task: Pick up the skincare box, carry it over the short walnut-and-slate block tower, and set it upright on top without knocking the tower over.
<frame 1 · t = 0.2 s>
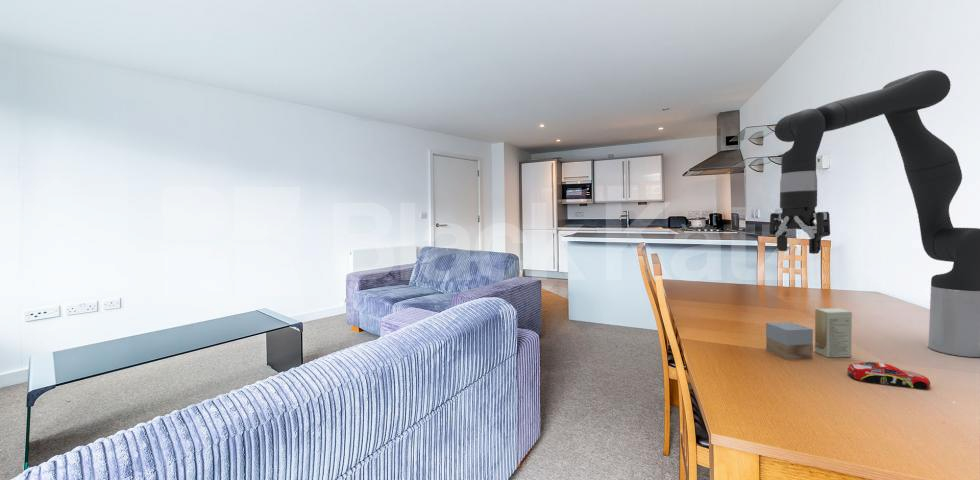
hand: (797, 252, 99), 28 cm above the table, fingers open, 8 cm apart
bottom block: (788, 355, 102), on the table, touching top block
skincare box: (832, 355, 101), on the table
race car: (887, 383, 84), on the table
top block: (788, 340, 102), point 4 cm above the table, touching bottom block
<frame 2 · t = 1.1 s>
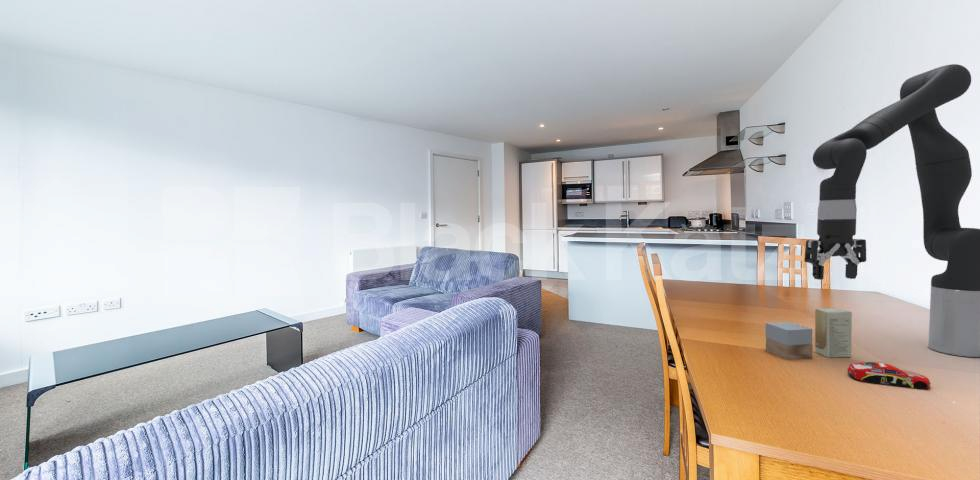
hand: (834, 278, 100), 21 cm above the table, fingers open, 8 cm apart
nothing on the table moved.
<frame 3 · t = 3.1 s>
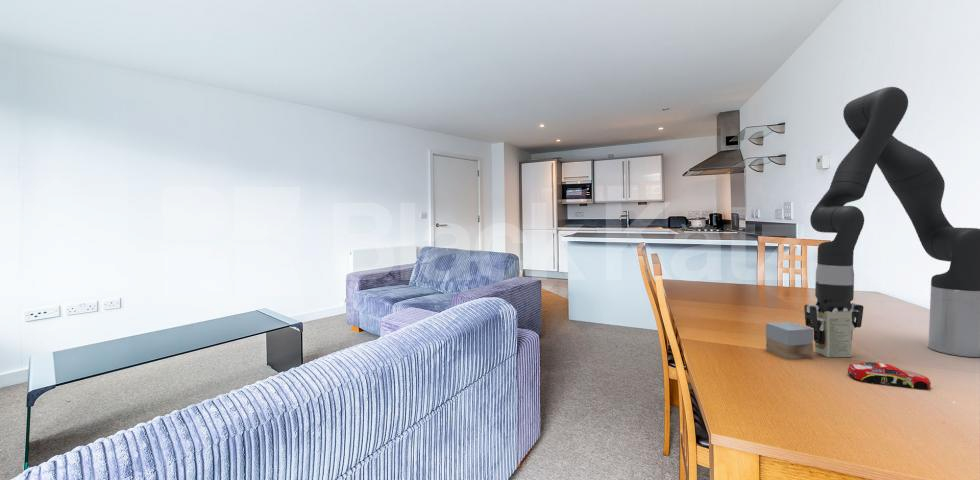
hand: (832, 343, 101), 3 cm above the table, fingers closed on skincare box, 6 cm apart
skincare box: (832, 355, 101), on the table, touching gripper
everything else where it was.
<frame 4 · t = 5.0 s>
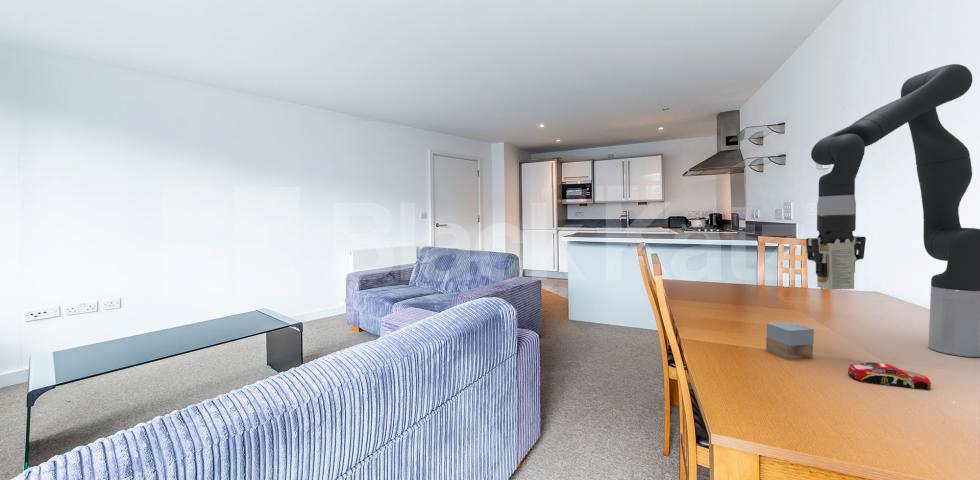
hand: (835, 276, 100), 21 cm above the table, fingers closed on skincare box, 6 cm apart
skincare box: (834, 289, 100), point 18 cm above the table, touching gripper
everything else where it was.
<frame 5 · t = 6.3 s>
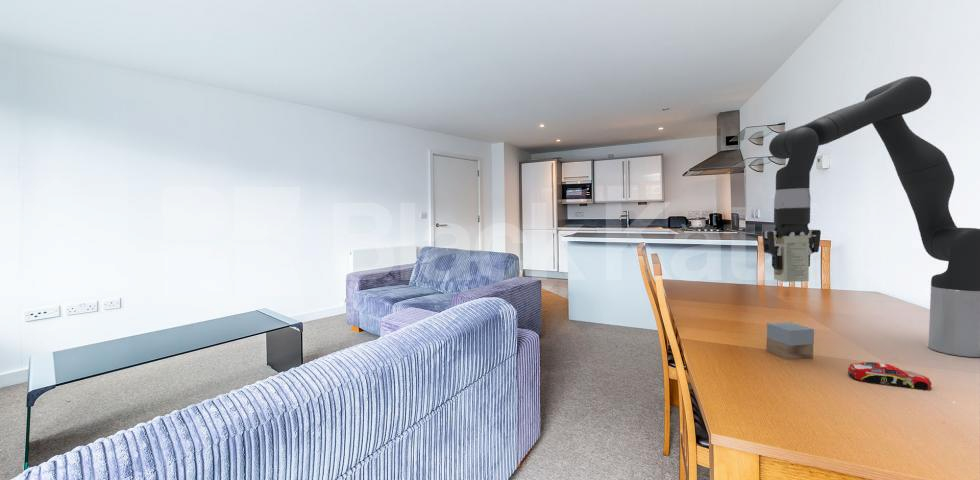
hand: (790, 268, 100), 23 cm above the table, fingers closed on skincare box, 6 cm apart
skincare box: (790, 281, 101), point 20 cm above the table, touching gripper
everything else where it was.
when the fingers open (12 cm above the table, at t = 8.8 s): skincare box drops 1 cm, resting on top block.
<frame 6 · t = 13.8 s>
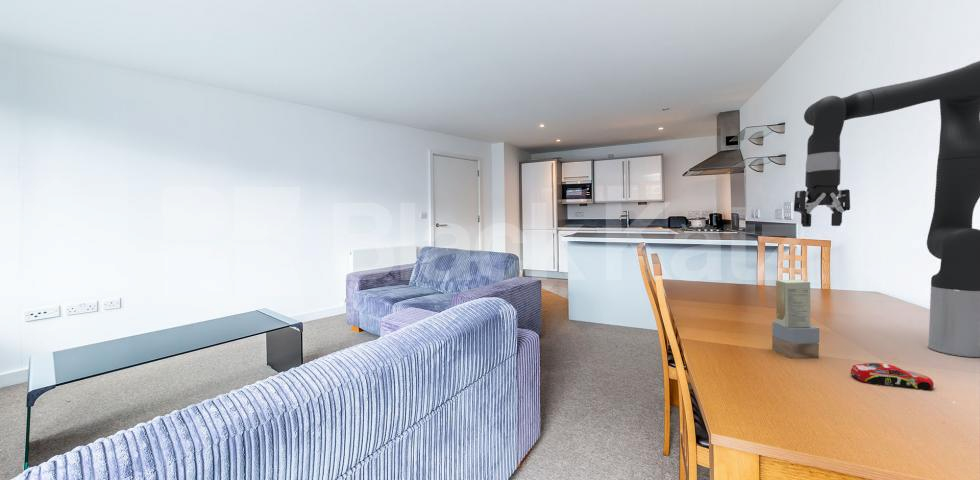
hand: (821, 226, 109), 34 cm above the table, fingers open, 8 cm apart
bottom block: (794, 354, 102), on the table, touching top block
skincare box: (792, 326, 102), point 8 cm above the table, touching top block
top block: (794, 339, 102), point 4 cm above the table, touching bottom block, skincare box
everything else where it was.
at the end: skincare box 1.0 cm off-centre on the top block, point 3.8 cm above the top block's base; skincare box tilted 0°; top block 0.4 cm off-centre on the bottom block, point 4.0 cm above the bottom block's base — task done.
